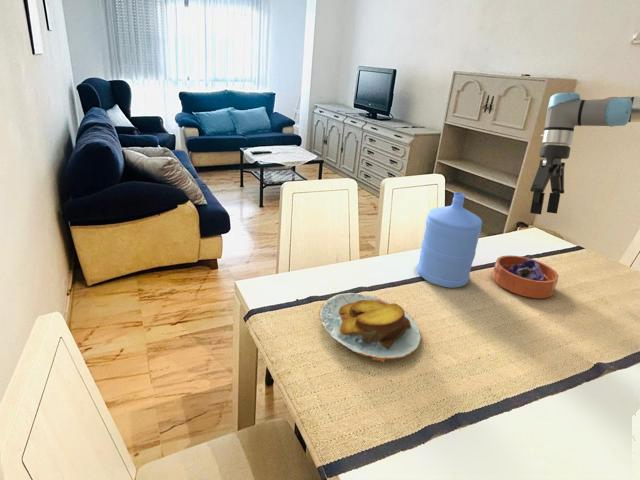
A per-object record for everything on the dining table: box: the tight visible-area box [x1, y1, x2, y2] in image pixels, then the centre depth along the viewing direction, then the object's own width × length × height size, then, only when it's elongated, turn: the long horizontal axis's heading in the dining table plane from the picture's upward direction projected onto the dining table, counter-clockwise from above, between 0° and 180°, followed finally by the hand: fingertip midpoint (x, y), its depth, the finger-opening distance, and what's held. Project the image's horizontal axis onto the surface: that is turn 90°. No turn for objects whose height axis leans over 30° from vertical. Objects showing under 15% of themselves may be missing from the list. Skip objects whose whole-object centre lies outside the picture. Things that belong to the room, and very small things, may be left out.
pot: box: [491, 255, 559, 299], centre depth 121 cm, size 17×17×6 cm
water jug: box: [416, 192, 483, 289], centre depth 120 cm, size 16×16×28 cm
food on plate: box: [318, 292, 422, 362], centre depth 97 cm, size 25×25×7 cm
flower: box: [509, 258, 544, 281], centre depth 120 cm, size 9×9×10 cm
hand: (543, 213), depth 121 cm, fingers open, 13 cm apart
